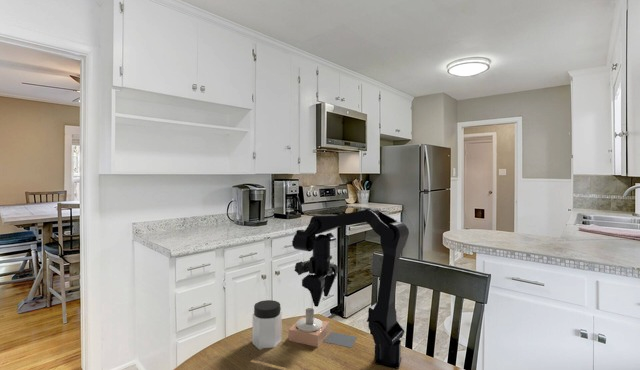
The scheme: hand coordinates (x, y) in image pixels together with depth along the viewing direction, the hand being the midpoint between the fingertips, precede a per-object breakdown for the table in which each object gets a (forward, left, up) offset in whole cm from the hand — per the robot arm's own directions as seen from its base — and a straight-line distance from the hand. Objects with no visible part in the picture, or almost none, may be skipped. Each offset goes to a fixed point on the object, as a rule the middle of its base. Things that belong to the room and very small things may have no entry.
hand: (321, 301), depth 103 cm
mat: (-7, 0, -12) cm, 14 cm away
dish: (+3, +2, -12) cm, 12 cm away
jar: (+14, +10, -12) cm, 21 cm away
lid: (+3, +2, -8) cm, 9 cm away
